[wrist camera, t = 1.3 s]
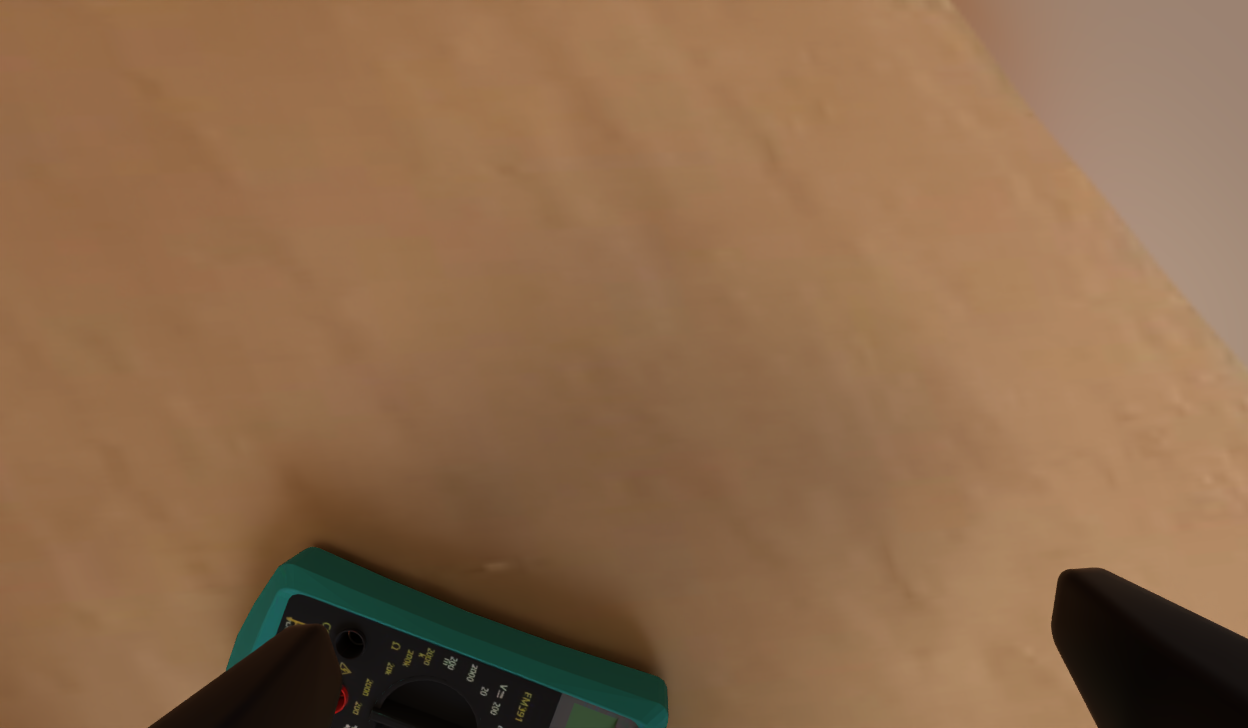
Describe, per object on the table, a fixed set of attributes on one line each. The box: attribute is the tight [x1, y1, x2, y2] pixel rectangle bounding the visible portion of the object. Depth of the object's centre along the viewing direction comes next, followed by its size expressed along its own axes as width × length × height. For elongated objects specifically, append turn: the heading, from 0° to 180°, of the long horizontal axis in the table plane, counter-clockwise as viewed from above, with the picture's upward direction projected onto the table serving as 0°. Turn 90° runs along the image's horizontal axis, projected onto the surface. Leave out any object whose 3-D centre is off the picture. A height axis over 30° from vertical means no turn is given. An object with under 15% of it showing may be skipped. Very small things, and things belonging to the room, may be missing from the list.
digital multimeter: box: [226, 547, 668, 728], centre depth 23 cm, size 7×15×3 cm, turn 69°
